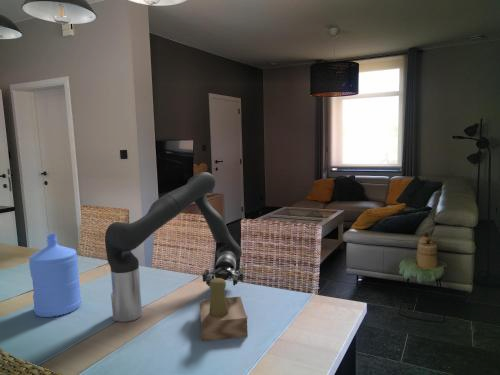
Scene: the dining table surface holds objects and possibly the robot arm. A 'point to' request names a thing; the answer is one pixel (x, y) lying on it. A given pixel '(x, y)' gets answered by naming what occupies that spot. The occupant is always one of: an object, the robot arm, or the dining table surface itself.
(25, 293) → the dining table surface
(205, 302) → the walnut block
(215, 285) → the cork
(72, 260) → the water jug
